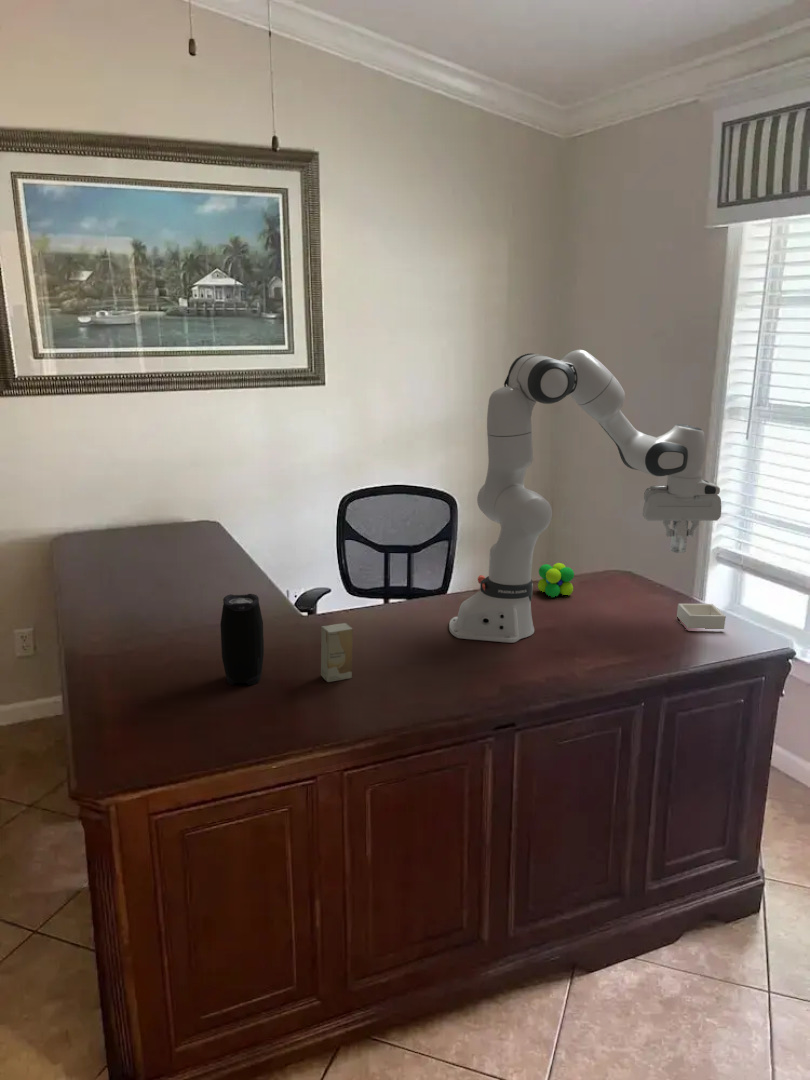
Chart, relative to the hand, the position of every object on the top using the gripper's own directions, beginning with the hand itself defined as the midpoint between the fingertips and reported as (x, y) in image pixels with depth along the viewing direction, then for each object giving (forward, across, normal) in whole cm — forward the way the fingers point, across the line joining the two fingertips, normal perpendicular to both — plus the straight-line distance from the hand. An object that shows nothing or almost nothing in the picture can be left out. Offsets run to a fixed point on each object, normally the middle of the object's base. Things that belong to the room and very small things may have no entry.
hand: (679, 536), depth 232 cm
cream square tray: (+24, +6, -5) cm, 25 cm away
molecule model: (+24, -29, +21) cm, 43 cm away
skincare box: (+22, -90, -40) cm, 101 cm away
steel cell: (+4, 0, 0) cm, 4 cm away
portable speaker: (+22, -111, -42) cm, 121 cm away
